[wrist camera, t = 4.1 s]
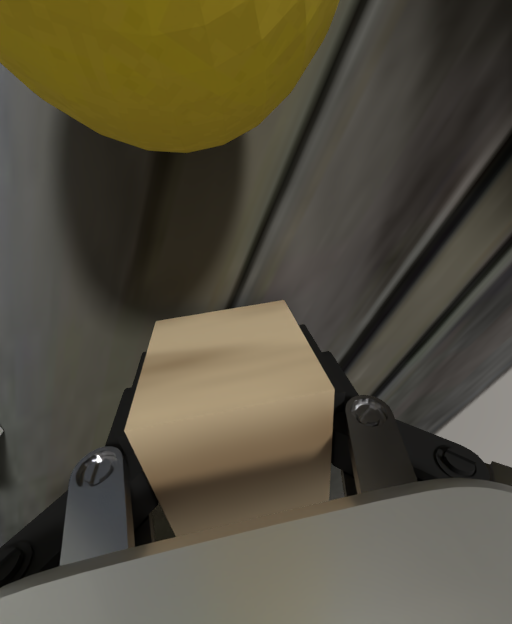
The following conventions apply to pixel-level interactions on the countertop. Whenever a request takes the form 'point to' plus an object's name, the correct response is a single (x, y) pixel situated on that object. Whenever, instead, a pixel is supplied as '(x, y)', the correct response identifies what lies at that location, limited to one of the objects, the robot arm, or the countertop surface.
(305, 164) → the countertop surface
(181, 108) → the lemon
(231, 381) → the cube
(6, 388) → the countertop surface
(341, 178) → the countertop surface
